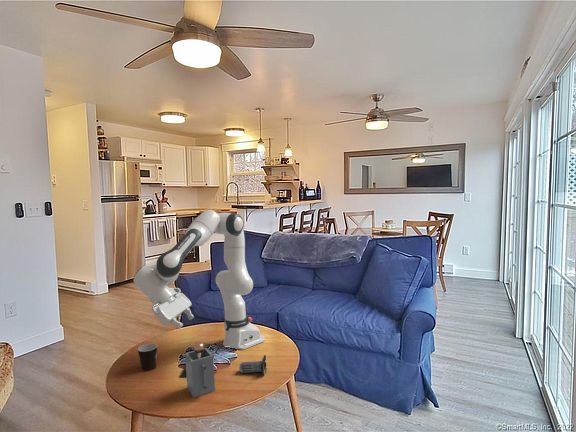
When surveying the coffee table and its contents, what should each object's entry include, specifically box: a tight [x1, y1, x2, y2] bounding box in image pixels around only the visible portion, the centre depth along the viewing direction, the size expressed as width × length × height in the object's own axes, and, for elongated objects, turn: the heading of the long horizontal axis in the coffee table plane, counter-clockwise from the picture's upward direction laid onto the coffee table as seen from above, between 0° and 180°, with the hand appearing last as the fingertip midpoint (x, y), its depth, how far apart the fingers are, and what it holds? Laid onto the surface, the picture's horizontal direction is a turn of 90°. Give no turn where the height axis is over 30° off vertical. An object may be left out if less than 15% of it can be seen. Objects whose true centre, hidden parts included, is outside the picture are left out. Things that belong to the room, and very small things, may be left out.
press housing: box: [184, 347, 216, 398], centre depth 148 cm, size 9×12×15 cm
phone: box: [180, 364, 187, 379], centre depth 166 cm, size 8×1×15 cm
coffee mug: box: [137, 342, 158, 372], centre depth 170 cm, size 12×9×10 cm
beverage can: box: [238, 354, 268, 377], centre depth 161 cm, size 9×8×12 cm
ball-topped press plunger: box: [193, 341, 204, 359], centre depth 148 cm, size 6×6×14 cm
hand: (187, 322), depth 148 cm, fingers open, 8 cm apart
